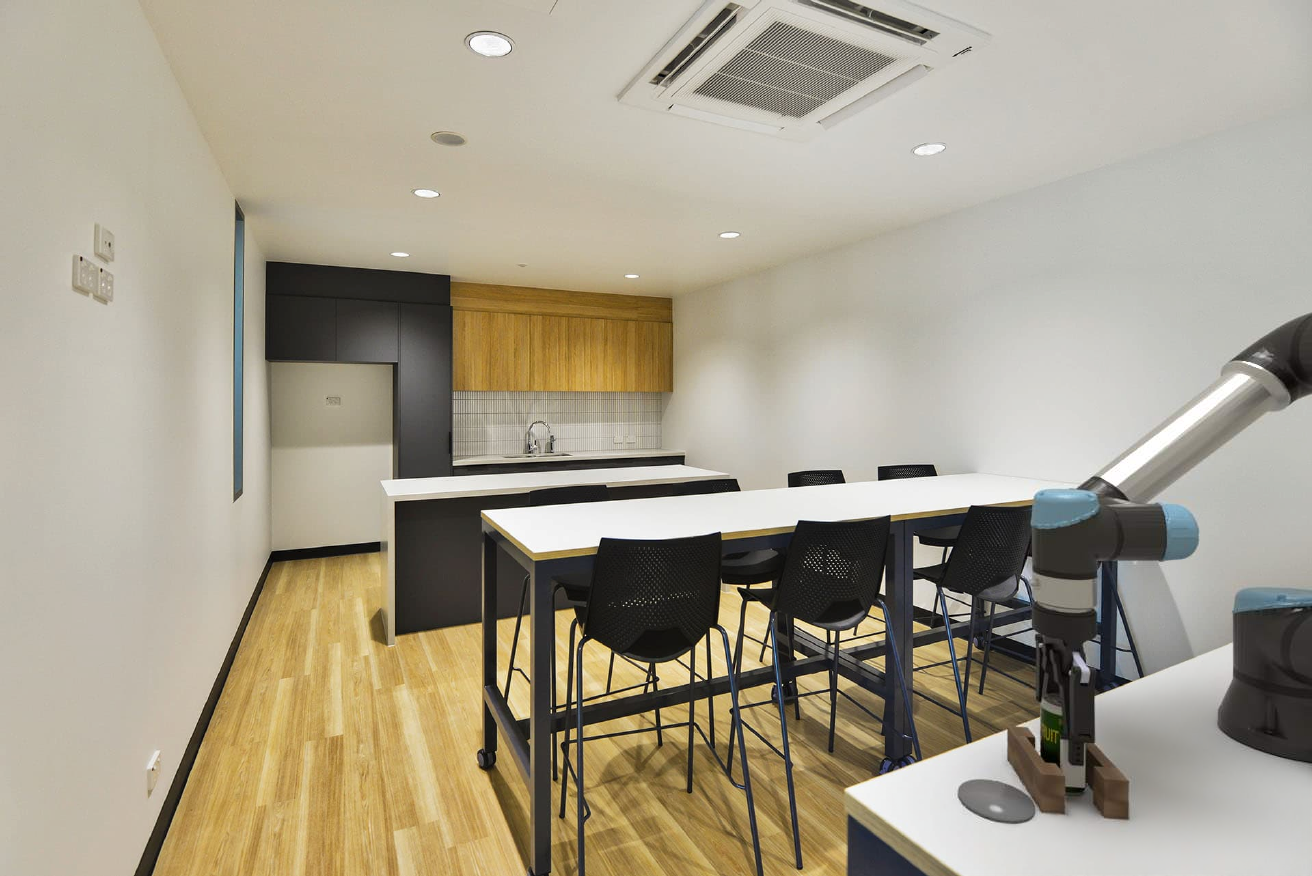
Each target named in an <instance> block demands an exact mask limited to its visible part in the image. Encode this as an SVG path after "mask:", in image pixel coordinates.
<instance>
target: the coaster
mask: <svg viewBox="0 0 1312 876" xmlns="http://www.w3.org/2000/svg"><path fill="white" fill-rule="evenodd" d="M957 795H958V796H957V797H958V800H959V801H960V803H961V804H962V805H963V806H964V807H965V808H966V809H967V810H969V811H971V812H972V813H973V814H975V815H977V816H980V817H981V818H984V819H987V820H990V821H993V822H998V823H1002V824H1003V823H1004V824H1022V823H1026V822H1029V821H1030V820H1032V819H1033V818H1034V817H1035V814H1036V806H1035V805H1036V804H1035V802H1034V800H1032V797H1031V796H1029V795H1027V794H1026V793H1025V792H1024V791H1022V790H1020V789H1019V788H1017V787H1015V786H1013V785H1010V784H1008V783H1005V782H1001V781H998V780H993V779H984V778H981V779H980V778H976V779H969V780H965V781H964V782H962V783H961V784H960V785H959V786H958V789H957ZM1030 797H1031V798H1030Z"/></svg>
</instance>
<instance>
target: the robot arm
mask: <svg viewBox="0 0 1312 876" xmlns="http://www.w3.org/2000/svg"><path fill="white" fill-rule="evenodd" d="M1310 395H1312V312H1309V313H1305V314H1303V315H1300V316H1298V317H1296V318H1294V319H1291V320H1288V321H1287V322H1286V323H1284V324H1282V325H1280V326H1278V327H1276V328H1275V329H1273V330H1272V331H1271V332H1269V333H1267V334H1265V335H1264V336H1262V337H1261V338H1259V339H1257V340H1256V341H1255V342H1254V343H1252V344H1250V345H1249V346H1248V347H1246V348H1245V349H1244V350H1242V351H1241V352H1239V353H1238V354H1237V355H1236V356H1235V357H1233V358H1232V359H1230V360H1229V361H1228V362H1226V363H1225V364H1224V365H1223V366H1222V367H1221V369H1220V377H1219V378H1218V379H1216V380H1214V382H1213V383H1211V384H1210V385H1209V386H1207V387H1206V388H1205V389H1203V390H1202V391H1201V392H1200V393H1198V394H1197V395H1196V396H1195V397H1193V398H1192V399H1190V400H1189V401H1188V402H1187V403H1186V404H1184V405H1182V407H1180V408H1179V409H1178V410H1176V411H1175V412H1173V414H1171V415H1170V416H1169V417H1167V418H1166V419H1165V420H1163V421H1162V422H1161V423H1160V424H1158V425H1157V426H1155V427H1153V429H1152V430H1151V431H1149V432H1148V433H1147V434H1145V435H1144V436H1142V437H1141V438H1140V439H1139V440H1138V441H1136V442H1135V443H1134V444H1133V445H1131V446H1129V447H1128V448H1127V449H1125V451H1123V452H1122V453H1121V454H1119V455H1118V456H1117V457H1116V458H1114V459H1113V460H1112V461H1110V462H1109V463H1108V464H1106V465H1105V466H1104V467H1103V468H1101V469H1100V470H1098V472H1095V474H1094V475H1092V476H1091V477H1089V479H1086V480H1085V481H1084V482H1083V483H1082V484H1080V485H1079V486H1077V487H1076V488H1071V487H1070V488H1047V489H1042V490H1039V491H1037V492H1036V493H1035V494H1034V495H1033V501H1032V504H1031V505H1032V508H1031V520H1030V526H1031V554H1032V555H1031V565H1032V566H1031V567H1032V568H1031V570H1032V571H1031V573H1032V575H1031V576H1032V578H1030V579H1028V582H1027V583H1028V585H1029V586H1030V587H1031V593H1032V594H1031V596H1032V599H1033V600H1034V602H1033V603H1032V604H1031V627H1032V629H1033V630H1034V631H1035V632H1036V633H1035V634H1034V639H1035V640H1034V641H1035V651H1036V653H1035V654H1036V659H1035V700H1036V703H1041V702H1042V700H1043V699H1042V697H1043V695H1045V694H1047V693H1060V699H1061V709H1062V719H1063V729H1064V734H1058V737H1059V739H1060V770H1061V771H1062V772H1063V774H1064V775H1065V786H1067V787H1080V788H1085V743H1094V744H1095V743H1096V710H1095V709H1096V704H1095V703H1096V701H1095V700H1096V699H1095V696H1096V695H1095V687H1096V686H1095V685H1096V680H1097V675H1098V672H1097V669H1096V667H1094V666H1087V657H1086V652H1085V650H1084V649H1085V648H1084V643H1086V642H1087V641H1092V640H1094V639H1095V638H1096V637H1097V636H1098V611H1096V609H1095V607H1097V606H1098V604H1099V595H1098V594H1099V592H1098V591H1099V576H1098V567H1099V566H1098V565H1099V561H1100V562H1108V561H1109V562H1118V561H1120V562H1123V561H1124V562H1125V561H1126V562H1155V561H1157V562H1159V563H1161V562H1162V563H1164V562H1166V561H1179V560H1184V559H1187V558H1189V557H1191V556H1193V554H1194V553H1195V552H1196V550H1197V548H1198V546H1199V543H1200V542H1199V541H1200V538H1199V537H1200V536H1199V533H1200V528H1199V527H1200V526H1199V525H1198V522H1197V520H1196V518H1195V516H1194V515H1193V514H1192V512H1191V511H1190V510H1189V509H1187V508H1186V507H1185V506H1183V505H1180V504H1178V503H1177V504H1176V503H1162V502H1155V503H1148V502H1150V501H1152V500H1153V499H1154V498H1155V497H1157V496H1158V495H1159V494H1160V493H1162V492H1163V491H1165V490H1166V489H1167V488H1168V487H1170V486H1171V485H1173V484H1174V483H1175V482H1176V481H1178V480H1179V479H1180V478H1182V477H1184V475H1187V473H1188V472H1190V471H1191V470H1193V469H1194V468H1195V467H1197V466H1198V465H1199V464H1201V463H1202V462H1203V461H1204V460H1206V459H1207V458H1208V457H1210V456H1212V454H1214V453H1215V452H1216V451H1218V450H1219V449H1220V448H1221V447H1223V446H1224V445H1225V444H1227V443H1228V442H1229V441H1231V440H1232V439H1234V438H1235V437H1236V436H1238V435H1239V434H1240V433H1241V432H1243V431H1244V430H1245V429H1247V428H1248V427H1249V426H1251V425H1252V424H1254V423H1255V422H1256V421H1257V420H1259V419H1260V418H1262V417H1263V416H1264V415H1266V413H1268V412H1271V413H1273V412H1275V413H1276V412H1280V411H1283V410H1285V409H1286V408H1288V407H1289V406H1290V405H1292V404H1293V403H1294V402H1296V401H1298V400H1299V399H1302V398H1304V397H1307V396H1310ZM1231 614H1232V678H1231V679H1232V680H1231V682H1230V683H1229V686H1228V687H1227V690H1226V692H1225V694H1224V696H1223V698H1222V701H1221V703H1220V705H1219V707H1218V709H1217V726H1218V727H1219V729H1220V730H1221V731H1222V732H1223V733H1225V734H1226V735H1227V736H1229V737H1230V738H1232V739H1234V740H1236V741H1238V742H1240V743H1241V744H1244V745H1247V746H1250V747H1251V748H1254V749H1257V750H1259V751H1262V752H1265V753H1269V754H1272V755H1276V756H1280V757H1283V758H1286V759H1287V758H1288V759H1291V760H1292V759H1293V760H1298V761H1303V762H1310V763H1312V589H1304V588H1292V587H1289V588H1288V587H1272V586H1271V587H1268V586H1267V587H1266V586H1265V587H1264V586H1261V587H1260V586H1258V587H1257V586H1256V587H1247V588H1246V587H1245V588H1242V589H1240V590H1239V591H1237V592H1236V593H1235V596H1234V603H1233V610H1232V611H1231Z"/></svg>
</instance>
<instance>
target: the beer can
mask: <svg viewBox="0 0 1312 876" xmlns="http://www.w3.org/2000/svg"><path fill="white" fill-rule="evenodd" d="M1042 699H1043V700H1042V702H1040V705H1039V706H1040V710H1039V711H1040V712H1039V713H1040V715H1039V717H1040V718H1039V719H1040V724H1039V729H1040V731H1039V734H1040V735H1039V739H1040V741H1039V743H1040V748H1039V755H1040V756H1041V758H1042V759H1043V760H1044V762H1045V763H1056V765H1057V766H1058V767H1059V769H1060V739H1059V737H1058V734H1064V729H1063V719H1062V709H1061V699H1060V693H1047V694H1045V695H1043V697H1042ZM1087 786H1088V784H1087V743H1085V788H1080V787H1067V786H1065V798H1066V797H1068V798H1078V797H1081V796H1084V793H1085V792H1086V790H1087Z"/></svg>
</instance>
